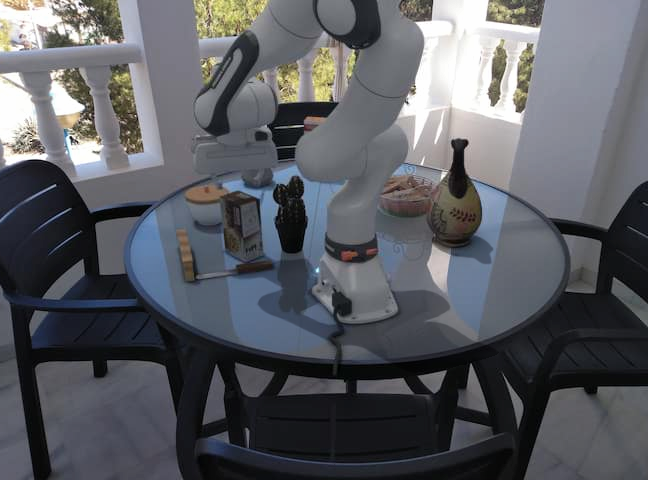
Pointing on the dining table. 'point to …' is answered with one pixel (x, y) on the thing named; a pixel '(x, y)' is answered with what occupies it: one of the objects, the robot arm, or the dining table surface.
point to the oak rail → (186, 254)
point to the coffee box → (241, 225)
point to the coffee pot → (250, 174)
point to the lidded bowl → (205, 204)
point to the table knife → (240, 269)
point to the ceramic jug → (455, 203)
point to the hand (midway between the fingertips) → (238, 187)
